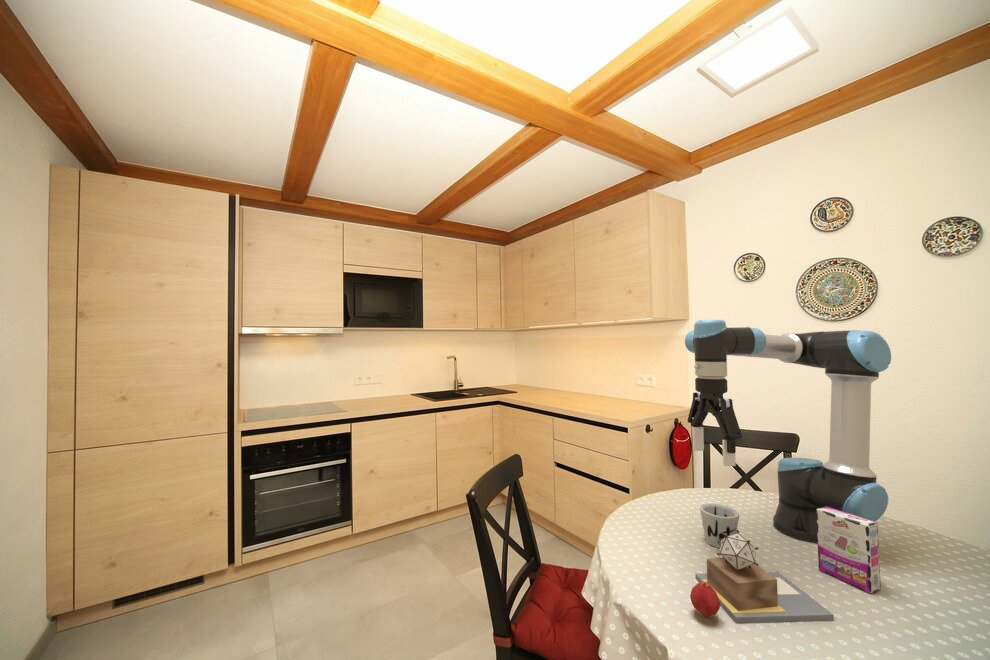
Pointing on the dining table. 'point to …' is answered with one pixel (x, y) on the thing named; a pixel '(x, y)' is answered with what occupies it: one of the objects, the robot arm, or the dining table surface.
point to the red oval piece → (705, 599)
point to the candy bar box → (848, 548)
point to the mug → (718, 522)
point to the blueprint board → (789, 607)
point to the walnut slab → (742, 585)
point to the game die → (738, 551)
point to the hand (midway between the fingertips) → (712, 457)
